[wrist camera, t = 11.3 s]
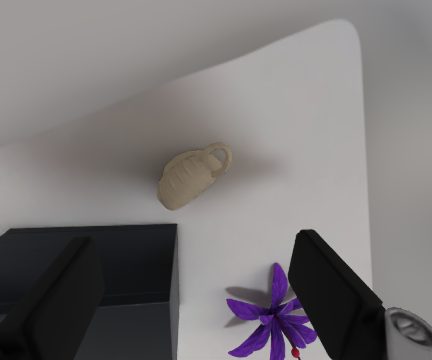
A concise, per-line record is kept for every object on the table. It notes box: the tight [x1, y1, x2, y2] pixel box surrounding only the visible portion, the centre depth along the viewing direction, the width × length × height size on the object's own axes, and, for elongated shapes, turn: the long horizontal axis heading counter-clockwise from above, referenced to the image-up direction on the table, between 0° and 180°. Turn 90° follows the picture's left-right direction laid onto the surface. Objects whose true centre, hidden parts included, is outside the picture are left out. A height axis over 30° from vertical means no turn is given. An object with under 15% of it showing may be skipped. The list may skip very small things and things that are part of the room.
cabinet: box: [0, 224, 179, 360], centre depth 20 cm, size 17×13×10 cm
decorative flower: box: [226, 263, 317, 360], centre depth 25 cm, size 14×15×7 cm
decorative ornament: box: [157, 142, 232, 210], centre depth 18 cm, size 4×8×5 cm, turn 127°
